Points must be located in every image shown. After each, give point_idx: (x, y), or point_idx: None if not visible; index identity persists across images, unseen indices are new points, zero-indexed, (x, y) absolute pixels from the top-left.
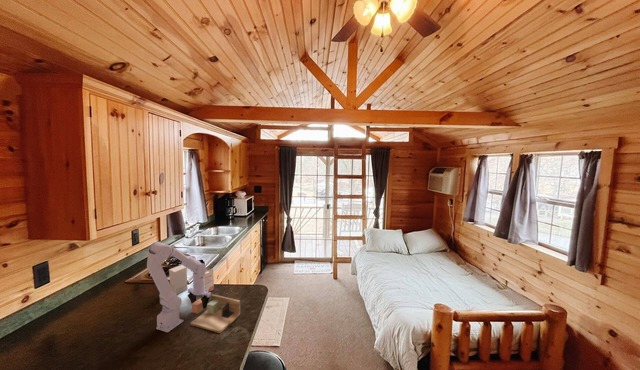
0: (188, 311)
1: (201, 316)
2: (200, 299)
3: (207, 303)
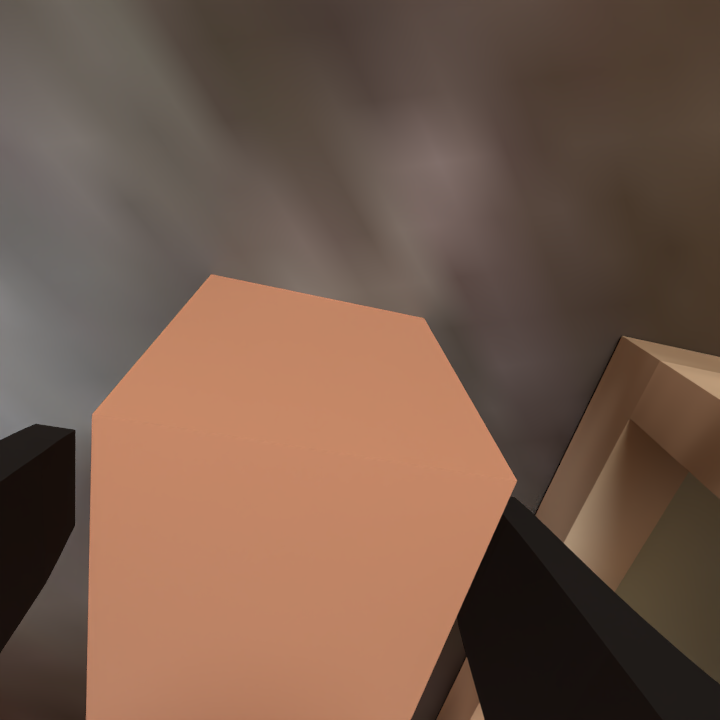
0: (73, 550)
1: None
2: (207, 579)
3: (593, 576)
